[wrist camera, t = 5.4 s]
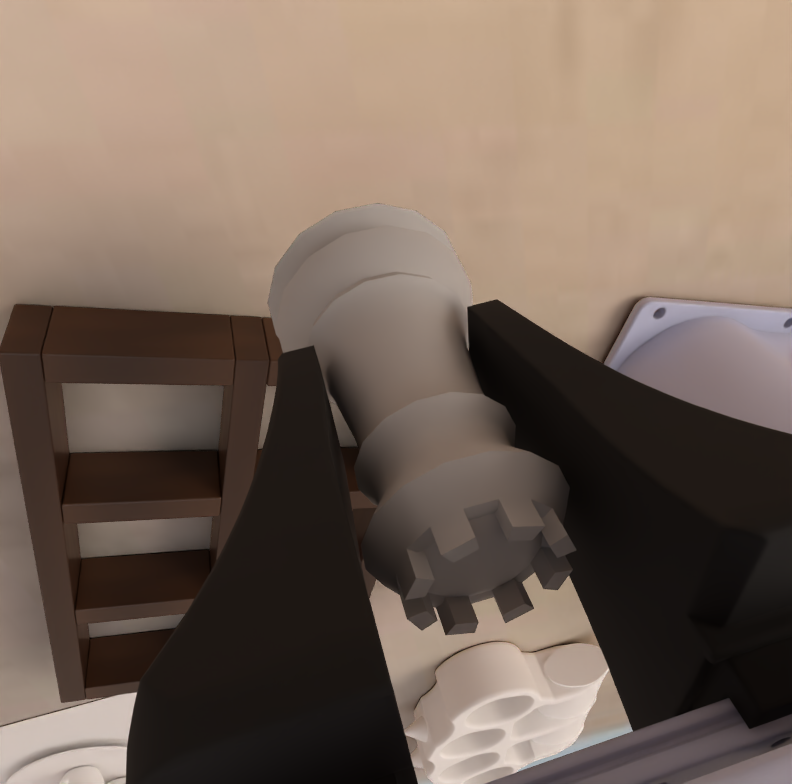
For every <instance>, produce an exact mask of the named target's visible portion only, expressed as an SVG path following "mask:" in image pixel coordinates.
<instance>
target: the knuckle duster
mask: <svg viewBox="0 0 792 784" xmlns="http://www.w3.org/2000/svg"><path fill="white" fill-rule="evenodd" d="M608 671H609V668H608V665H607V663H606V660H605V658H604V655H603V653H602V651H601V648H600V647H598V646H595V645H591V644H585V643H575V644H569V645H561V646H555V647H551V648H548V649H544V650H541V651H537V652H534V653H528V652H521V651H520V649H519V648H518V647H517V646H515V645H514V644H511V643H508V642H490V643H485V644H480V645H477V646H474V647H471V648H468V649H466V650H463V651H461V652H459V653H457V654H455V655H454V656H452V657H450V658H449V659H447V660H446V661H445V662H443V663H442V664H441V665H440V666H439V667H438V668H437V669H436V671H435V676H436V679H437V682H436V684H435V686H434V687H433V688H432V689H431V690H430V691H429V692H428V693H427V694H425V695H424V696H422V697H421V699H420V701H419V703H418V704H417V706H416V708H415V710H414V717H415V721H414V722H413V723H412V724H411V725H410V726H409V727H407V728H406V729H405V730H404V733H405V735H406V736H409V737H412V738H414V739H416V742H417V745H418V747H417V748H416V749H415V750H414V751H413V753H412V754H411V755H410V756H411V759H412V763H413V767H417V768H423V769H424V771H425V774H426V776H427V777H428V778H429V780H430V781H431V782H432V783H433V784H485V783H488V782H490V781H493V780H496V779H499V778H502V777H505V776H507V775H510V774H513V773H516V772H517V771H518V770H519V769H520V768H522V767H524V766H526V765H528V764H530V763H531V762H534V761H536V760H539V759H542V758H546V757H549V756H552V755H555V754H557V753H559V752H560V751H562V750H564V749H566V748H567V747H569V746H571V745H573V743H574V742H575V740H576V739H577V737H578V736H579V734H580V733H581V732H582V730H583V728H584V725H583V723H584V721H585V719H586V717H587V714H588V712H589V710H590V709H591V707H592V706H593V704H594V703H595V701H596V699H597V698H596V694H597V692H598V690H599V688H600V685H601V683H602V681H603V679H604V677H605V676H606V674H607V673H608Z"/></svg>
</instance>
